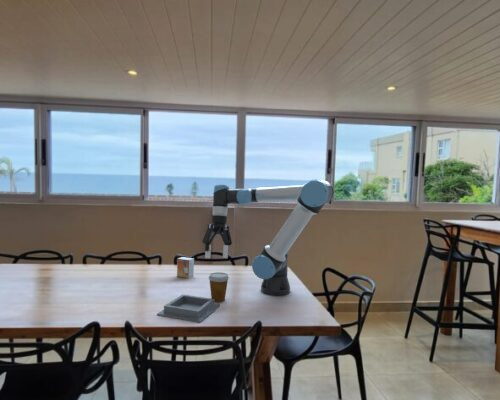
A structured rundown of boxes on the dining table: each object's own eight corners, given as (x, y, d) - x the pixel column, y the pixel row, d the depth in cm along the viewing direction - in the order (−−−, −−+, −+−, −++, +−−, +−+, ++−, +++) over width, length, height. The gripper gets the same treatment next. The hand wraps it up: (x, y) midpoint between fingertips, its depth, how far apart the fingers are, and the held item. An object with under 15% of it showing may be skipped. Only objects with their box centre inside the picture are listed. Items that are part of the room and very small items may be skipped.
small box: (176, 276, 206) (177, 258, 205) (182, 274, 211) (182, 256, 210) (188, 278, 203) (189, 260, 202) (193, 275, 208) (194, 258, 207)
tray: (220, 305, 161) (220, 298, 161) (200, 322, 142) (200, 314, 142) (180, 299, 168) (180, 292, 167) (157, 315, 149) (157, 306, 148)
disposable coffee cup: (231, 298, 172) (232, 273, 171) (221, 304, 163) (222, 278, 162) (214, 295, 176) (215, 271, 175) (204, 301, 167) (204, 275, 166)
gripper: (228, 217, 192) (226, 257, 189) (197, 213, 171) (193, 257, 169) (240, 217, 187) (237, 258, 185) (208, 213, 167) (205, 258, 165)
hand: (216, 258), depth 177 cm, fingers open, 13 cm apart
